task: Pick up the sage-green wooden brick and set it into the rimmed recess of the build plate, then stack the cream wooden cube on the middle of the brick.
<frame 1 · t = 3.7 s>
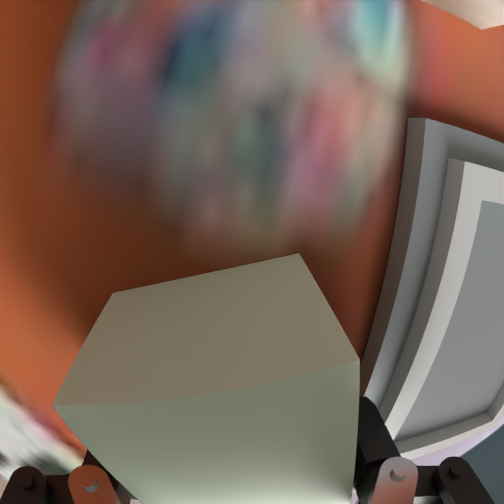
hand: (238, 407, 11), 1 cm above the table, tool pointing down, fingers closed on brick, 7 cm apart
build plate: (475, 328, 12), on the table
brick: (237, 389, 12), on the table, touching gripper
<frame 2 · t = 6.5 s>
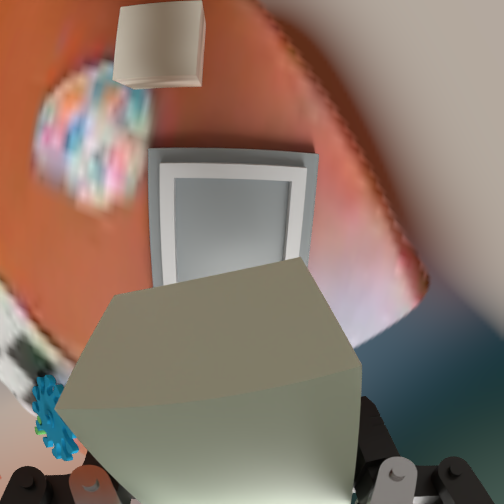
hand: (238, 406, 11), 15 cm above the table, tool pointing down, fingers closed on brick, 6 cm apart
gear: (62, 396, 30), on the table
build plate: (229, 253, 25), on the table
cube: (169, 56, 20), on the table
brick: (238, 391, 12), point 15 cm above the table, touching gripper
when the fingers open (3 cm above the table, at t = 9.3 s): brick moves 1 cm, resting on build plate.
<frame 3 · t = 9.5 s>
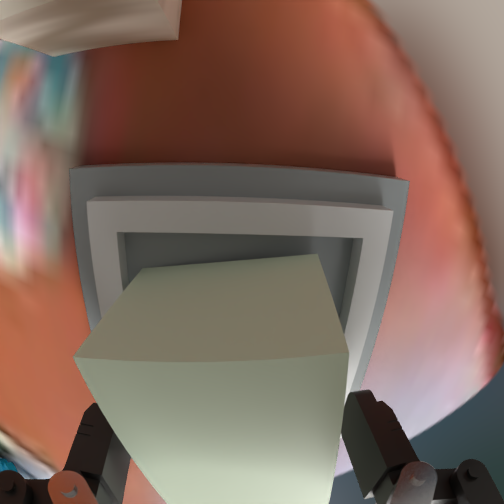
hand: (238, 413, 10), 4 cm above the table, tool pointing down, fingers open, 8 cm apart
gear: (30, 477, 19), on the table
build plate: (234, 353, 14), on the table
brick: (244, 374, 12), point 1 cm above the table, tilted 8°, touching build plate
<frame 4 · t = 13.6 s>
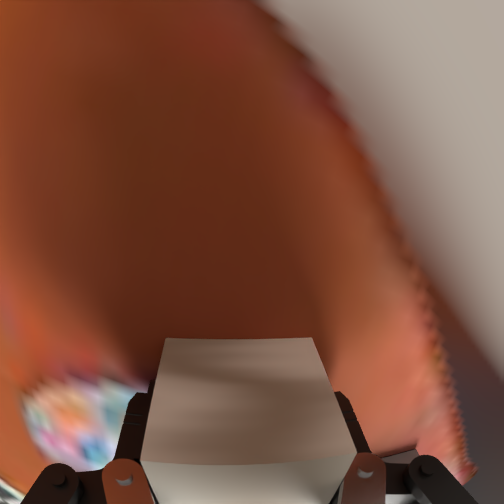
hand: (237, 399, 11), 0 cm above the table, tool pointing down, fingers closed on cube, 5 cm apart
cube: (238, 390, 12), on the table, touching gripper
when the fingers open (8 cm above the table, at t = 18.1 s): cube moves 1 cm, resting on brick.
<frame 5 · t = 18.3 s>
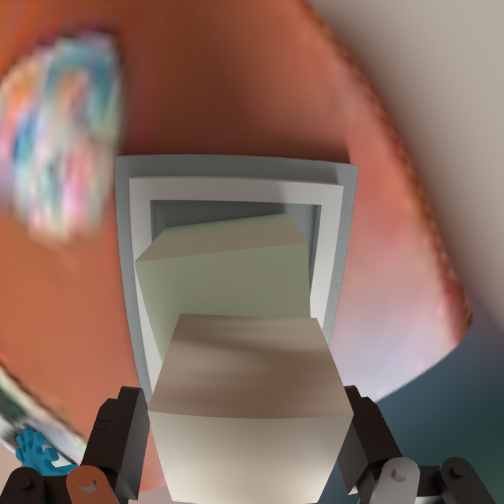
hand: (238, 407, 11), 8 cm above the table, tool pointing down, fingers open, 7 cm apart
gear: (50, 447, 24), on the table
build plate: (231, 298, 18), on the table
cube: (246, 369, 12), point 6 cm above the table, touching brick
brick: (238, 311, 17), point 1 cm above the table, touching build plate, cube
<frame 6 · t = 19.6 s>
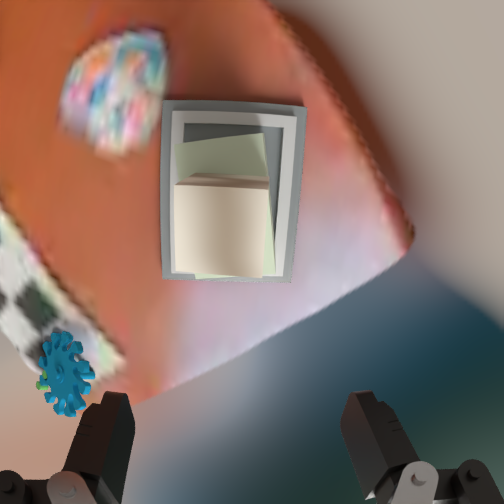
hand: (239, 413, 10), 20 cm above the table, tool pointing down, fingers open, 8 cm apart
gear: (71, 355, 33), on the table
build plate: (230, 193, 28), on the table
cube: (230, 210, 22), point 6 cm above the table, tilted 8°, touching brick
brick: (234, 196, 27), point 1 cm above the table, tilted 8°, touching build plate, cube
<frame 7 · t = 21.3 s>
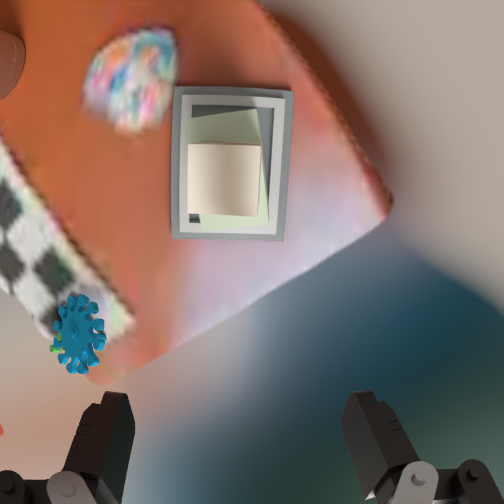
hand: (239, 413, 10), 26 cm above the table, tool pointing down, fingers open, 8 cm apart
gear: (85, 319, 38), on the table
build plate: (230, 163, 33), on the table
cube: (231, 171, 27), point 6 cm above the table, tilted 8°, touching brick
brick: (233, 164, 31), point 1 cm above the table, tilted 8°, touching build plate, cube
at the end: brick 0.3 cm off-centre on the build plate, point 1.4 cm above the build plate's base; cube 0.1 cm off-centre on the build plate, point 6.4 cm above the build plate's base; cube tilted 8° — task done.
